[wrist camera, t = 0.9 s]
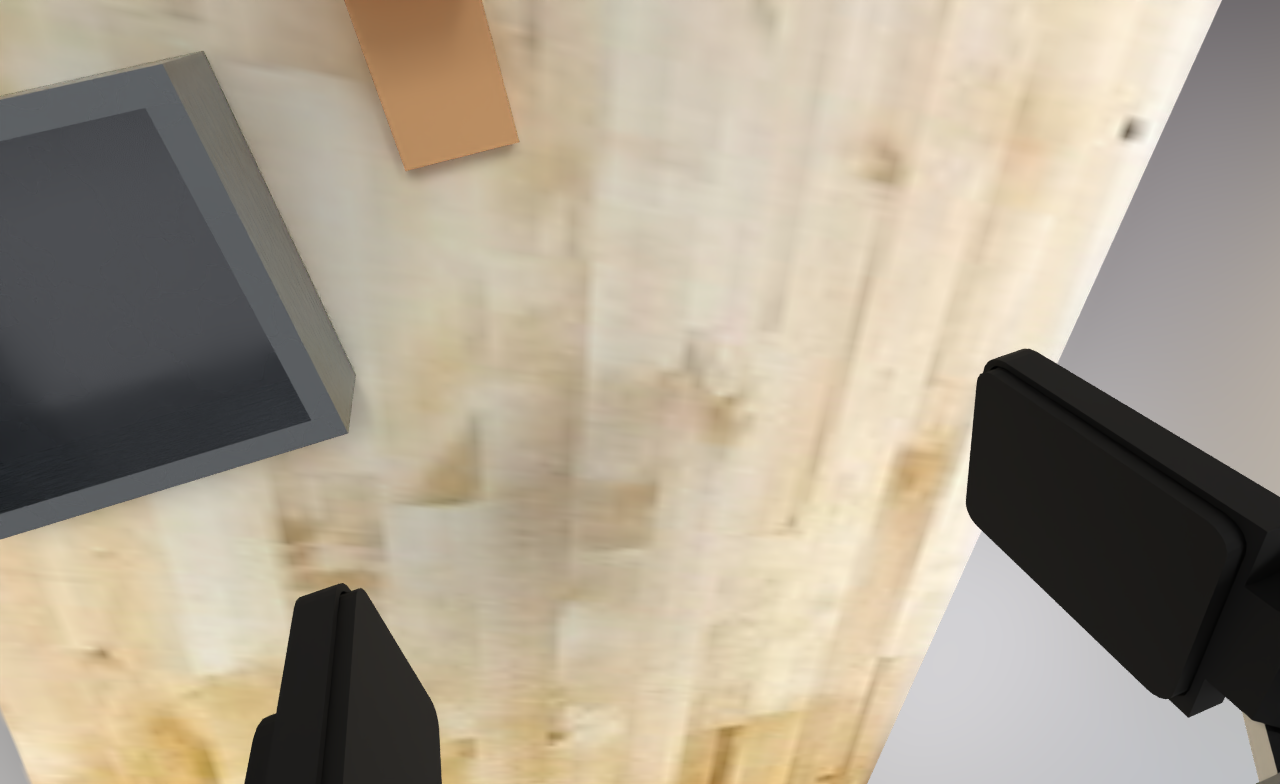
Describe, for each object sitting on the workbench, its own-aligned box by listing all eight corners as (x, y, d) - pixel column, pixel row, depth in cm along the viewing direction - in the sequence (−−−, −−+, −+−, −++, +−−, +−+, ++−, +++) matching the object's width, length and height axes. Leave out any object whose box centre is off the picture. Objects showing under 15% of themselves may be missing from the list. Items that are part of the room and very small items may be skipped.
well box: (-282, 158, 23) (-439, 196, 18) (203, 51, 25) (162, 63, 21) (-2, 479, 30) (-68, 560, 26) (355, 374, 32) (348, 433, 28)
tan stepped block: (309, -108, 23) (277, -139, 18) (442, -134, 24) (453, -172, 18) (405, 163, 28) (405, 208, 22) (514, 135, 29) (541, 172, 23)
